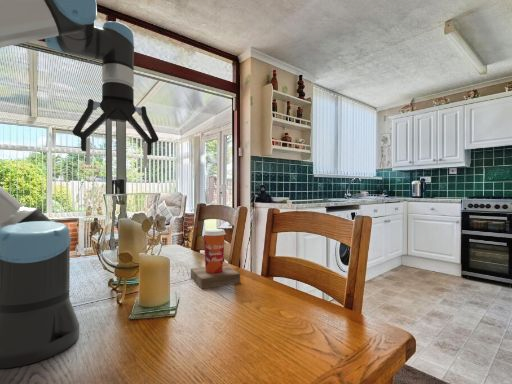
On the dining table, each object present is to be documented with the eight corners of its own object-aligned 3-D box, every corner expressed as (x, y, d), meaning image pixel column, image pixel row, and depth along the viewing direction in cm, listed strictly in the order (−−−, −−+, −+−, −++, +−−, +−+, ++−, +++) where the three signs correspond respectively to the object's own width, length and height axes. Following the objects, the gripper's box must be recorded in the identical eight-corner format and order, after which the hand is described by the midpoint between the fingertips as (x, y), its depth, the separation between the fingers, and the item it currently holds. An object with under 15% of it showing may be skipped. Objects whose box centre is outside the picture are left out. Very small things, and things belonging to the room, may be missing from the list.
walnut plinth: (240, 282, 94) (240, 273, 94) (201, 288, 88) (201, 279, 88) (225, 272, 105) (225, 264, 105) (190, 277, 99) (190, 268, 99)
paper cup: (203, 275, 92) (203, 231, 92) (201, 268, 99) (201, 228, 99) (227, 273, 94) (227, 231, 94) (224, 267, 101) (224, 228, 101)
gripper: (164, 97, 84) (164, 168, 84) (63, 81, 73) (63, 164, 73) (169, 89, 78) (168, 166, 78) (59, 71, 66) (58, 162, 66)
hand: (117, 166), depth 75 cm, fingers open, 13 cm apart
